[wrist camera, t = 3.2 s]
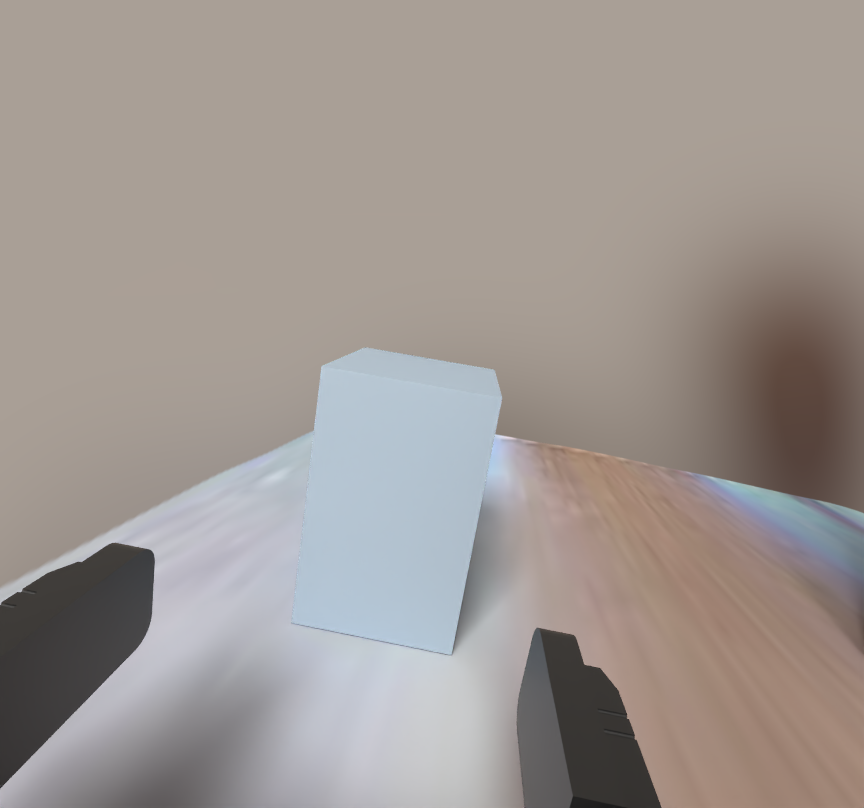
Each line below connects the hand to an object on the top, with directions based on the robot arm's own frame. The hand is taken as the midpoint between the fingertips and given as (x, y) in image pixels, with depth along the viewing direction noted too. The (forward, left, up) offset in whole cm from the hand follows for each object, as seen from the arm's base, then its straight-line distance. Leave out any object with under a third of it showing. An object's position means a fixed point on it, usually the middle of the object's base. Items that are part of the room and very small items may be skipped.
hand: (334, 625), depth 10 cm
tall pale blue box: (-9, -6, -6) cm, 13 cm away
